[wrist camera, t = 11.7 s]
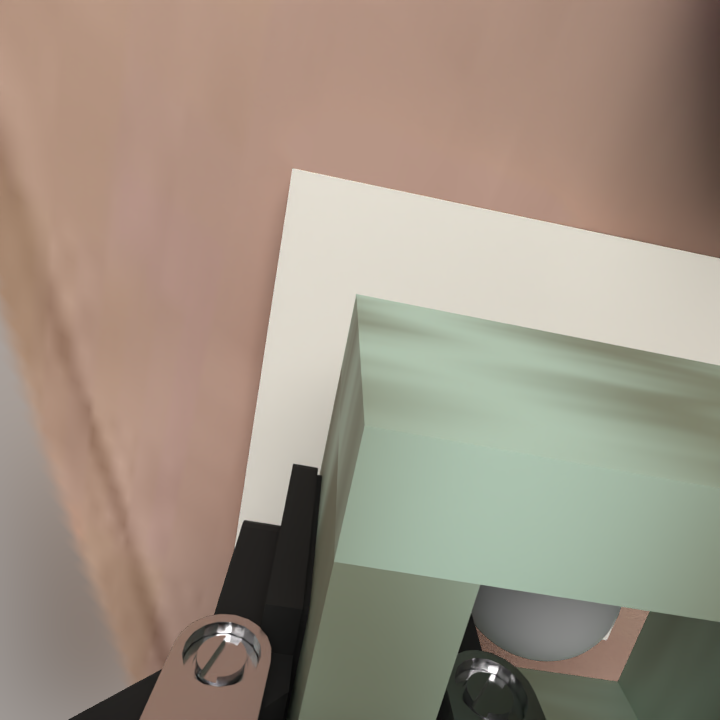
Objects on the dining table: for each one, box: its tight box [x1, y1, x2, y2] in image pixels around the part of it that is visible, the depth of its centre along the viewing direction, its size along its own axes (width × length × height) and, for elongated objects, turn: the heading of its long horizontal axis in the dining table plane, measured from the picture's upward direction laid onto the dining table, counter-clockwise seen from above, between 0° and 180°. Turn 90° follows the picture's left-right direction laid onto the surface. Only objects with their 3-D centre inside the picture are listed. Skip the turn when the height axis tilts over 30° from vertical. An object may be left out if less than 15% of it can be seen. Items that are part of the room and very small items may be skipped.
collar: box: [286, 294, 720, 720], centre depth 10 cm, size 10×10×6 cm
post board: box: [235, 168, 720, 661], centre depth 14 cm, size 14×14×9 cm
